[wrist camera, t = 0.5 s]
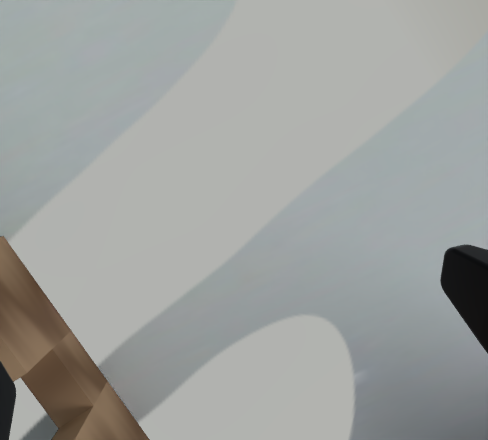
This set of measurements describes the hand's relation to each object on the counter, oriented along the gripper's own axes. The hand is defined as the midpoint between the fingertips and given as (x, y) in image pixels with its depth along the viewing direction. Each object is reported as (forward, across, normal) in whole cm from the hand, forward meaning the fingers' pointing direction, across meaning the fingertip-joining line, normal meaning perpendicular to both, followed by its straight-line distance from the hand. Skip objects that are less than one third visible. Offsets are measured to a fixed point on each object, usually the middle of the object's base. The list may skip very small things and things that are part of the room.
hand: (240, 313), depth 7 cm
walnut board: (+11, +9, +11) cm, 17 cm away
